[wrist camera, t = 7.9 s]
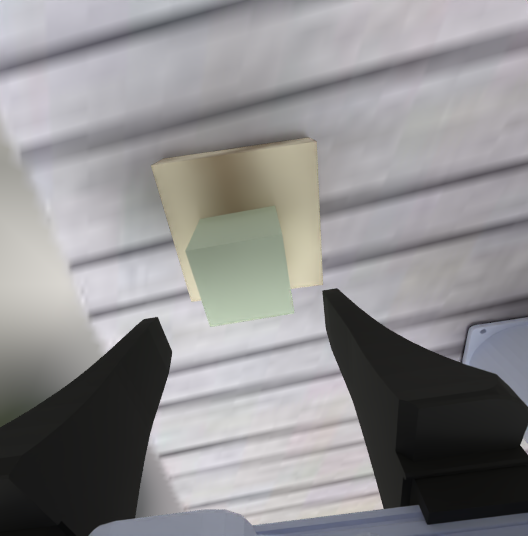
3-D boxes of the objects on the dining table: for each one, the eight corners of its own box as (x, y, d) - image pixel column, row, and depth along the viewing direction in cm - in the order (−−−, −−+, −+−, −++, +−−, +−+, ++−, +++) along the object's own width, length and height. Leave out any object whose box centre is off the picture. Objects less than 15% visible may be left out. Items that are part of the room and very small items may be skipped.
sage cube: (274, 205, 17) (282, 234, 13) (285, 271, 20) (294, 313, 16) (200, 218, 18) (185, 251, 14) (218, 283, 20) (210, 326, 16)
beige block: (307, 136, 19) (316, 141, 16) (314, 264, 23) (322, 284, 20) (165, 157, 19) (150, 165, 16) (198, 279, 23) (191, 301, 20)
